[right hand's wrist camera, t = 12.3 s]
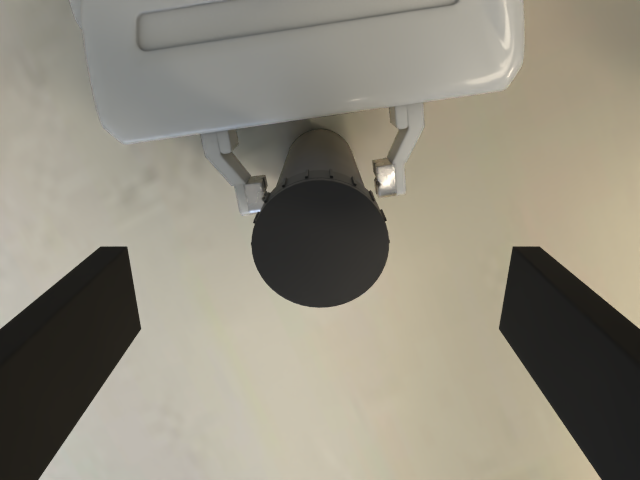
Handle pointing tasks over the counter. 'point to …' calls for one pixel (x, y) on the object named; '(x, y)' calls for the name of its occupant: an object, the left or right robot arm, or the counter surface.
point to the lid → (320, 239)
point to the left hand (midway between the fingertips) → (322, 202)
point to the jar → (320, 155)
